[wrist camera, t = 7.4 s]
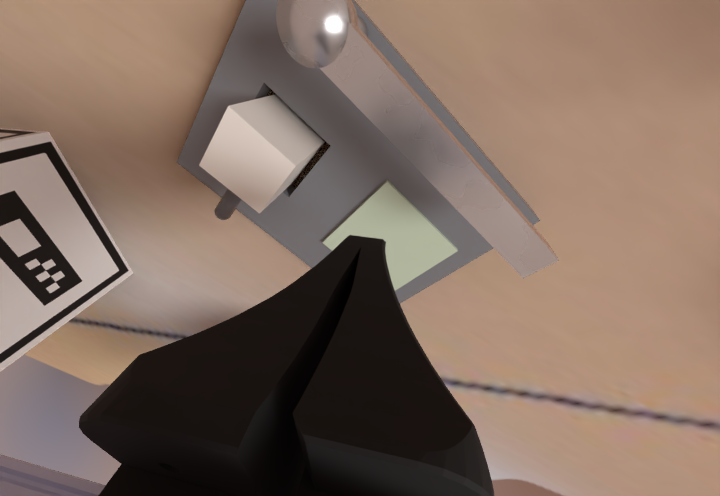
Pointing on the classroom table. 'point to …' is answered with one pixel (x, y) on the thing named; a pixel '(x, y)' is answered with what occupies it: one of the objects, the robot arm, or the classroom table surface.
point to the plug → (258, 152)
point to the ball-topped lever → (408, 124)
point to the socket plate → (343, 161)
